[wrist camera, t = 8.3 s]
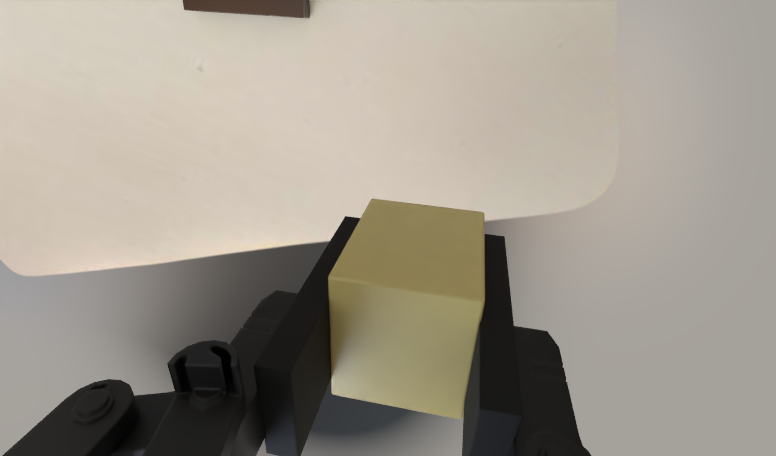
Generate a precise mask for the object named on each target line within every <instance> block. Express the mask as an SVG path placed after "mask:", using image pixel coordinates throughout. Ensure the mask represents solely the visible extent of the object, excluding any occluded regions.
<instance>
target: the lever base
mask: <svg viewBox="0 0 776 456" xmlns="http://www.w3.org/2000/svg"><path fill="white" fill-rule="evenodd" d="M183 5H184V10H190V11H205V12H220V13H235V14H251V15H266V16H281V17H296V18H308V17H309V0H183Z"/></svg>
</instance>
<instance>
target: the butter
mask: <svg viewBox="0 0 776 456" xmlns="http://www.w3.org/2000/svg"><path fill="white" fill-rule="evenodd" d="M328 290H329V320H330V352H331V384H332V385H331V386H332V394H334V395H338V396H344V397H349V398H354V399H359V400H364V401H369V402H374V403H380V404H385V405H389V406H395V407H400V408H405V409H410V410H415V411H421V412H425V413H430V414H436V415H441V416H446V417H451V418H456V419H461V418H462V417H463V413H464V402H465V396H466V391H467V386H468V381H469V375H470V370H471V365H472V360H473V354H474V349H475V344H476V339H477V333H478V328H479V323H480V322H481V319H482V314H483V309H484V304H485V240H484V213H483V212H478V211H469V210H461V209H453V208H445V207H437V206H429V205H420V204H412V203H404V202H396V201H388V200H379V199H371V201H370V203H369V204H368V206H367V208H366V210H365V212H364V213H363V215H362V217H361V219H360V221H359V222H358V224H357V226H356V228H355V230H354V231H353V233H352V235H351V237H350V239H349V240H348V242H347V244H346V246H345V248H344V249H343V251H342V253H341V255H340V257H339V258H338V260H337V262H336V264H335V266H334V267H333V269H332V271H331V273H330V275H329V276H328Z"/></svg>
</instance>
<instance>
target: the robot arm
mask: <svg viewBox="0 0 776 456" xmlns="http://www.w3.org/2000/svg"><path fill="white" fill-rule="evenodd" d="M360 219H361V218H354V217H346V216H345V218H344V220H343V221H342V223H341V225H340V226H339V228H338V229H337V231H336V233H335V234H334V236H333V237H332V239H331V241H330V242H329V244H328V246H327V247H326V249H325V251H324V252H323V254H322V256H321V257H320V259H319V260H318V262H317V263H316V265H315V267H314V268H313V270H312V272H311V273H310V275H309V277H308V278H307V280H306V281H305V283H304V285H303V286H302V288H301V290H300V291H299V293H298V294H297V293H291V292H284V291H278V290H276V291H275V292H273V293H272V294H270V295H269V296H268V297H266V298H264V299H263V300H261V302H260V303H259V304H258V306H257V307H256V309H255V310H254V311H253V313H252V316H251V317H249V318H248V320H247V321H246V322H245V324H244V326H243V328H241V329H240V331H239V332H238V333H237V335H236V336H235V338H234V339H233V340H232V342H231V343H230V344H228V343H226V342H221V341H215V340H213V341H202V342H199V343H196V344H193V345H190V346H187V347H186V348H184V349H183V350H181V351H180V352H178V353H177V354H176V355H174V357H173V358H172V359H171V360H170V361H169V362H168V368H169V371H170V375H171V378H172V382H173V385H174V389H175V391H173V392H168V393H158V394H147V395H137V396H134V394H133V391H132V389H131V387H130V385H129V384H127V383H125V382H123V381H121V380H110V379H108V380H103V381H98V382H94V383H92V384H90V385H87V386H85V387H83V388H80V389H79V390H77V391H76V392H75V393H73V394H72V395H70V396H69V397H68V398H66V399H65V400H64V401H63V402H62V403H61V404H60V405H58V406H57V407H56V408H55V409H54V410H53V411H52V412H51V413H49V415H47V416H46V417H45V418H44V419H43V420H42V421H40V422H39V423H38V424H37V425H36V426H35V427H34V428H33V429H32V430H31V431H29V432H28V433H27V434H26V435H25V436H24V437H23V438H22V439H21V440H19V441H18V442H17V443H16V444H15V445H14V446H13V447H12V448H10V449H9V450H8V451H7V452H6V453H5V454H4V455H3V456H256V454H257V452H258V450H259V448H260V446H261V444H262V442H263V440H264V438H265V445H266V450H267V453H269V454H274V455H278V456H300V455H301V453H302V450H303V447H304V445H305V443H306V440H307V438H308V435H309V432H310V430H311V427H312V425H313V422H314V420H315V417H316V414H317V412H318V409H319V407H320V404H321V402H322V399H323V397H324V394H325V391H326V389H327V386H328V384H329V381H330V379H331V352H330V320H329V290H328V276H329V275H330V273H331V271H332V269H333V267H334V266H335V264H336V262H337V260H338V258H339V257H340V255H341V253H342V251H343V249H344V248H345V246H346V244H347V242H348V240H349V239H350V237H351V235H352V233H353V231H354V230H355V228H356V226H357V224H358V222H359V221H360ZM484 240H485V304H484V309H483V314H482V319H481V322H480V323H479V328H478V333H477V339H476V344H475V349H474V354H473V360H472V365H471V370H470V375H469V381H468V386H467V391H466V396H465V402H464V423H463V448H462V456H591V455H590V453H589V452H588V451H587V449H585V448H584V447H583V445H582V443H581V440H580V437H579V433H578V429H577V425H576V420H575V416H574V411H573V408H572V403H571V398H570V394H569V390H568V386H567V382H566V376H565V372H564V368H563V367H562V366H563V363H562V359H561V354H560V350H559V347H558V346H557V344H556V343H555V341H554V340H553V339H552V337H551V336H550V335H549V333H548V332H547V331H542V330H536V329H530V328H522V327H516V326H514V325H513V316H512V305H511V296H510V287H509V276H508V268H507V257H506V248H505V238H504V236H496V235H489V234H484Z"/></svg>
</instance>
